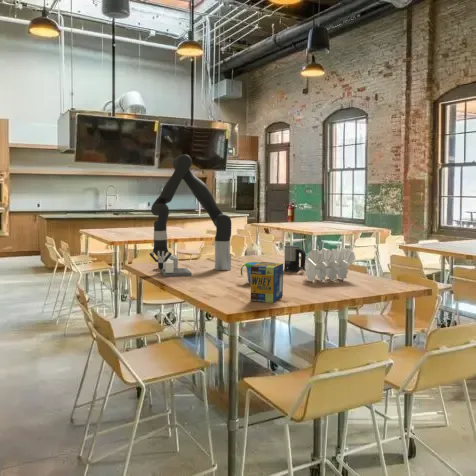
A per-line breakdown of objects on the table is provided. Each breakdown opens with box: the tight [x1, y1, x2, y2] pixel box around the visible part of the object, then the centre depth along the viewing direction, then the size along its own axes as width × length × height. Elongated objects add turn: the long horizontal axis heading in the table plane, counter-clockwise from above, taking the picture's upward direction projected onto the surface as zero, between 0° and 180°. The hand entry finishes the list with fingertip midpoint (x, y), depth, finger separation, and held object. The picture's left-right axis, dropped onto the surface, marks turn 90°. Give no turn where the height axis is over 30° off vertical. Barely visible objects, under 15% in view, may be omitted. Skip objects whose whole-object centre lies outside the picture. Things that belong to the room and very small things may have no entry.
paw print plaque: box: [160, 253, 179, 269], centre depth 321 cm, size 10×13×9 cm
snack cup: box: [240, 261, 260, 284], centre depth 273 cm, size 16×10×10 cm
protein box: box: [250, 261, 284, 304], centre depth 233 cm, size 10×15×16 cm
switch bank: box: [160, 267, 192, 278], centre depth 302 cm, size 15×19×2 cm
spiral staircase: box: [304, 247, 356, 282], centre depth 280 cm, size 18×18×25 cm
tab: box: [165, 262, 173, 273], centre depth 294 cm, size 4×4×6 cm
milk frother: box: [283, 244, 307, 272], centre depth 316 cm, size 14×16×15 cm
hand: (160, 269), depth 300 cm, fingers closed
